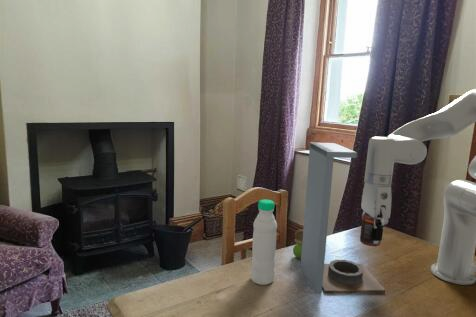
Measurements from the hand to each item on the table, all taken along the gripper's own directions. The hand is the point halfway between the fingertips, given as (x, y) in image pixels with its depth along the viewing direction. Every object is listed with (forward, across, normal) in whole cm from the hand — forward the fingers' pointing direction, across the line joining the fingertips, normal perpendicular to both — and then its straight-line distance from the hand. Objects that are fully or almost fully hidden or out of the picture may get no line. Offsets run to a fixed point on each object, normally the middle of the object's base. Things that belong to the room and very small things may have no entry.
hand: (370, 235), depth 107 cm
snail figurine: (+15, +14, +17) cm, 26 cm away
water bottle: (+15, 0, +33) cm, 36 cm away
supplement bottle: (+3, 0, 0) cm, 3 cm away
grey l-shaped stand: (+15, 0, +15) cm, 21 cm away
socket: (+15, 0, +7) cm, 16 cm away
